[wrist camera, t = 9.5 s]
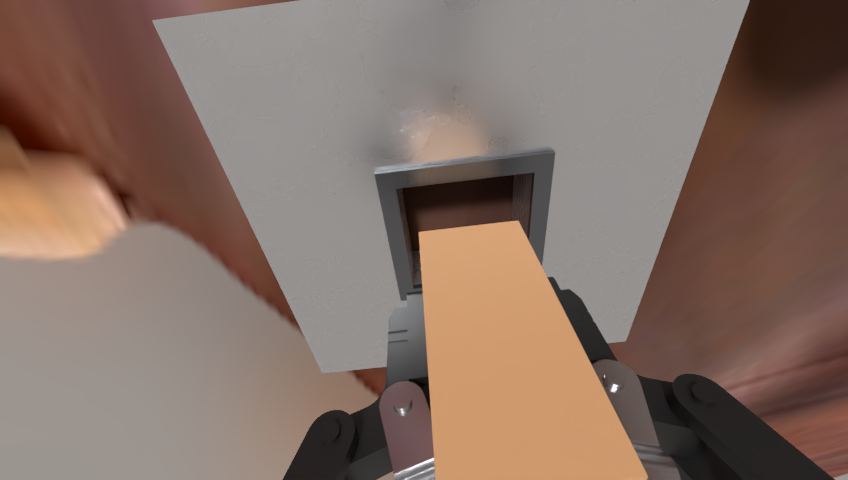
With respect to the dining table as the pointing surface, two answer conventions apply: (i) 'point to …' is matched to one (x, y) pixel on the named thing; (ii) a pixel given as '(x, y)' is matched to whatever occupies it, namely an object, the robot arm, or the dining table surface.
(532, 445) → the tan wooden block
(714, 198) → the dining table surface
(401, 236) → the slab with square hole
